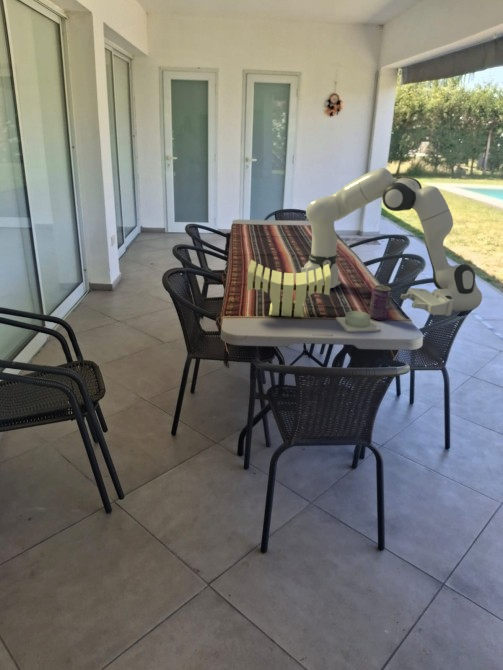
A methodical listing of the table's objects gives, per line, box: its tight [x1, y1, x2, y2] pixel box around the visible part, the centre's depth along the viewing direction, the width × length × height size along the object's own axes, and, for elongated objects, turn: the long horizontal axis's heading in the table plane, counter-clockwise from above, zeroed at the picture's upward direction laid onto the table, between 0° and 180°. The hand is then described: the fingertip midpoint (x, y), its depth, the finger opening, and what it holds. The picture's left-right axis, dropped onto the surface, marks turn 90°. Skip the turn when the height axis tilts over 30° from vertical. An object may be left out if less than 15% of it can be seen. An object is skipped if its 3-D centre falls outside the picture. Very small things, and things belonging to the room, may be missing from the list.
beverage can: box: [368, 284, 392, 321], centre depth 185 cm, size 7×7×12 cm
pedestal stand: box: [335, 310, 380, 333], centre depth 178 cm, size 12×12×4 cm
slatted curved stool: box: [246, 259, 331, 318], centre depth 186 cm, size 30×16×18 cm, turn 85°
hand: (407, 301), depth 186 cm, fingers open, 8 cm apart
